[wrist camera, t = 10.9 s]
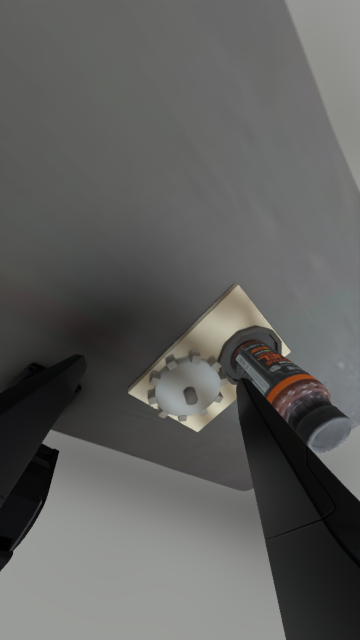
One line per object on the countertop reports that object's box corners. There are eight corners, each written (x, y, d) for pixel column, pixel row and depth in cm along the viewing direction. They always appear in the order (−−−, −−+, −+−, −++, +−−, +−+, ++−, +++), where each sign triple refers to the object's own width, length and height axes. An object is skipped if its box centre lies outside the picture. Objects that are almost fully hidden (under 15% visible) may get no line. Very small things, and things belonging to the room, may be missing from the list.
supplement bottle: (270, 336, 22) (378, 401, 12) (263, 370, 24) (351, 453, 14) (230, 341, 21) (310, 417, 11) (227, 376, 23) (291, 470, 13)
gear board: (195, 426, 27) (203, 451, 24) (128, 387, 22) (124, 412, 18) (285, 348, 25) (309, 363, 21) (234, 283, 20) (253, 288, 16)
